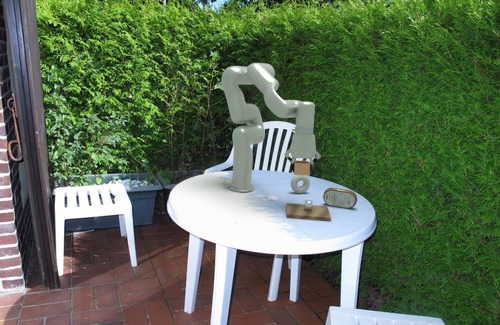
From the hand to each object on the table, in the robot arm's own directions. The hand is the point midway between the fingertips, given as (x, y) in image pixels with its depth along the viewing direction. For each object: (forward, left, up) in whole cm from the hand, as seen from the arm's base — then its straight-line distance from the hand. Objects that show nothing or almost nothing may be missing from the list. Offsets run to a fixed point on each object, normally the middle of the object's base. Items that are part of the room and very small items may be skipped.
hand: (301, 172), depth 169 cm
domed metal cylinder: (+4, -6, -15) cm, 17 cm away
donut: (+2, +22, -17) cm, 27 cm away
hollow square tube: (0, 0, -1) cm, 1 cm away
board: (+4, -6, -16) cm, 18 cm away
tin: (+19, +6, -17) cm, 26 cm away
